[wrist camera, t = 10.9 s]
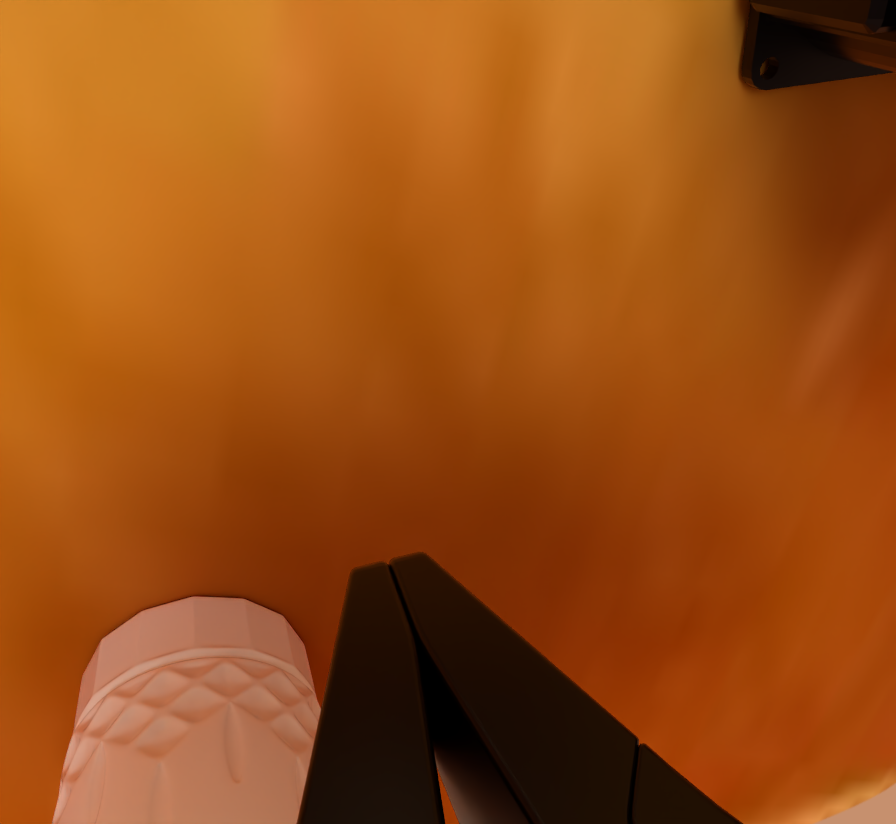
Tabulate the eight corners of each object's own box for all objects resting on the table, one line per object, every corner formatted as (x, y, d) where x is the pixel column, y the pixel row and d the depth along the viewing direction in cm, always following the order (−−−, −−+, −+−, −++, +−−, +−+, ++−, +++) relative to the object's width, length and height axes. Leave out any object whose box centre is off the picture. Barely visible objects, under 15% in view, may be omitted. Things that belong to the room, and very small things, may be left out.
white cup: (120, 551, 22) (92, 924, 14) (364, 607, 26) (450, 925, 18) (25, 736, 25) (-44, 1138, 17) (259, 762, 29) (294, 1100, 21)
